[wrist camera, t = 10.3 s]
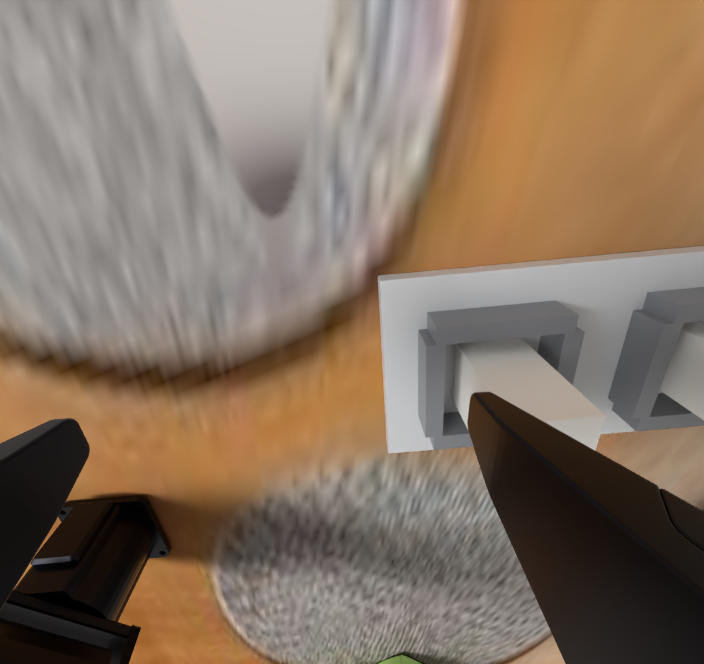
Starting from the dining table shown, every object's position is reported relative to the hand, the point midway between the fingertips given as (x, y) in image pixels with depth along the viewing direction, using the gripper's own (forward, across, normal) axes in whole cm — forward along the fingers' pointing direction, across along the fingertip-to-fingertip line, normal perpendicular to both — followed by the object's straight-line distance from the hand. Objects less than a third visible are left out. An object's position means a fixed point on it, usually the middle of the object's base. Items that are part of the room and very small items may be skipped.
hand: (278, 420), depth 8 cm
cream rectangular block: (+11, -10, +6) cm, 16 cm away
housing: (+12, -16, +6) cm, 20 cm away
